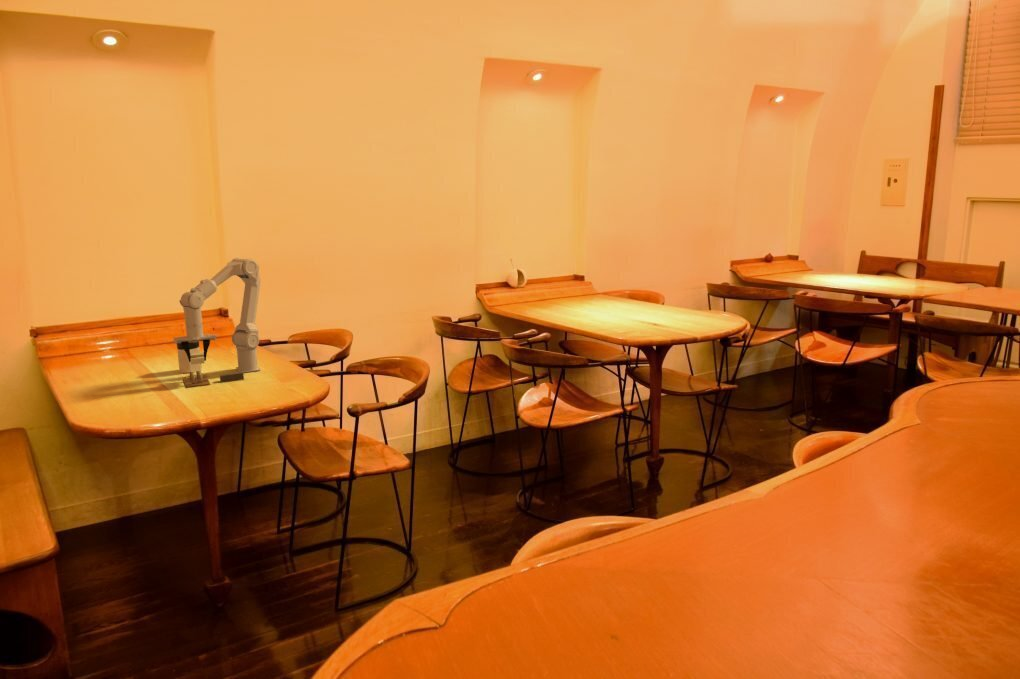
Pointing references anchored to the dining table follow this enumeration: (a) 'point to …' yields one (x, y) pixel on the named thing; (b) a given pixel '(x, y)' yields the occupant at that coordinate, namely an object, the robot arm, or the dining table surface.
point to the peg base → (196, 380)
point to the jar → (183, 358)
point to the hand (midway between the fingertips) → (197, 360)
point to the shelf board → (197, 358)
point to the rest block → (231, 376)
